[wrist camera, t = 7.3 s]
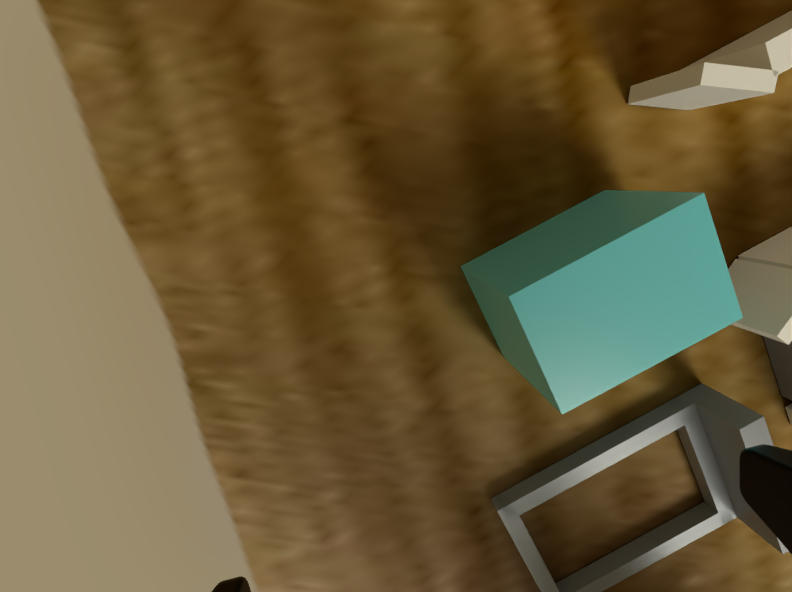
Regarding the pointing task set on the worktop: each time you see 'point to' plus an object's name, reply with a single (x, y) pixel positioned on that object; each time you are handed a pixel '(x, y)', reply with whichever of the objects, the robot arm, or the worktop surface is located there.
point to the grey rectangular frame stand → (688, 414)
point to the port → (788, 250)
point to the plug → (605, 291)
